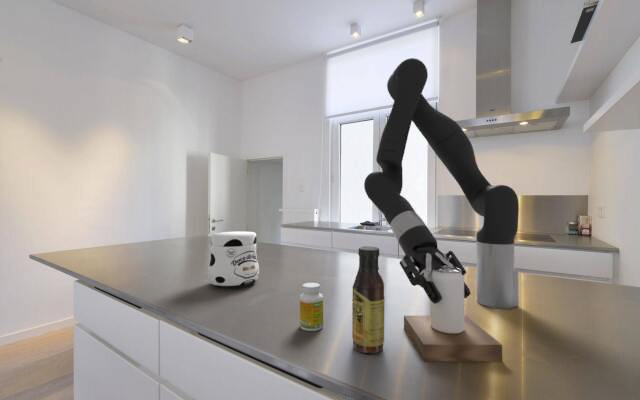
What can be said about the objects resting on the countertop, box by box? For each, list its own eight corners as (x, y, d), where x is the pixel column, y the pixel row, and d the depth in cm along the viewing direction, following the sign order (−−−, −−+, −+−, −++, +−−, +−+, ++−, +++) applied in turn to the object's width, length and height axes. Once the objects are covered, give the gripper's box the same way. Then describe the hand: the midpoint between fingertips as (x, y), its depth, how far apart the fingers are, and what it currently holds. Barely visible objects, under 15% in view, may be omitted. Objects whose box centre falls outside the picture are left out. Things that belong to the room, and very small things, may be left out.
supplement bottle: (315, 333, 66) (314, 289, 66) (295, 328, 69) (295, 285, 69) (327, 325, 71) (327, 283, 71) (308, 320, 74) (308, 280, 74)
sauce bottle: (349, 341, 63) (349, 245, 63) (379, 339, 63) (378, 244, 63) (356, 357, 56) (355, 250, 56) (389, 355, 57) (388, 249, 57)
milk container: (252, 291, 98) (252, 236, 98) (199, 292, 98) (199, 236, 98) (263, 278, 115) (263, 231, 115) (218, 278, 115) (218, 231, 115)
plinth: (466, 328, 68) (466, 315, 68) (502, 361, 54) (502, 344, 54) (403, 328, 69) (403, 315, 69) (424, 361, 55) (423, 344, 55)
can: (468, 336, 58) (467, 273, 58) (432, 333, 59) (432, 272, 59) (460, 323, 64) (459, 266, 64) (427, 320, 65) (427, 265, 66)
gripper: (394, 225, 66) (435, 293, 55) (444, 223, 71) (490, 284, 61) (380, 246, 70) (415, 313, 60) (427, 242, 76) (467, 303, 65)
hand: (453, 298), depth 60 cm, fingers open, 7 cm apart
